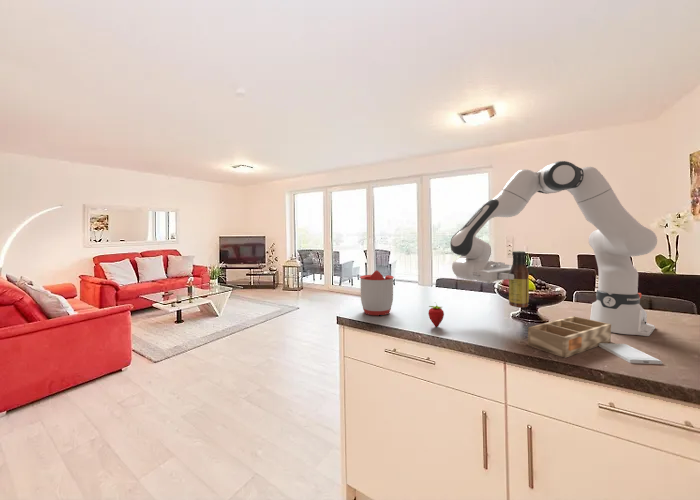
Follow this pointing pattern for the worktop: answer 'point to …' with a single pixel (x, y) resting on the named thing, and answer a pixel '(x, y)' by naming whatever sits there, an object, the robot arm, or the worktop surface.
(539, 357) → the worktop surface
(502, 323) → the worktop surface
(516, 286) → the sauce bottle
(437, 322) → the strawberry
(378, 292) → the citrus juicer
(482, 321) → the worktop surface
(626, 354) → the hard drive
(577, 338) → the condiment caddy
